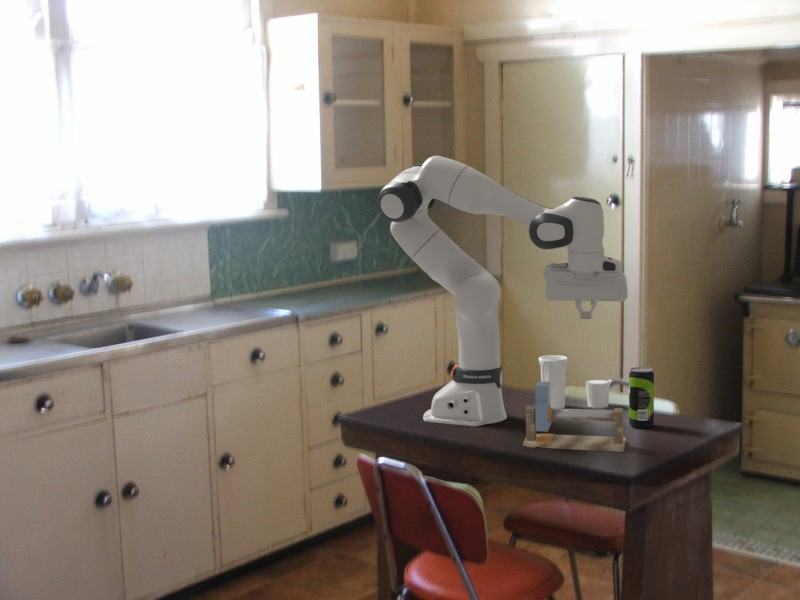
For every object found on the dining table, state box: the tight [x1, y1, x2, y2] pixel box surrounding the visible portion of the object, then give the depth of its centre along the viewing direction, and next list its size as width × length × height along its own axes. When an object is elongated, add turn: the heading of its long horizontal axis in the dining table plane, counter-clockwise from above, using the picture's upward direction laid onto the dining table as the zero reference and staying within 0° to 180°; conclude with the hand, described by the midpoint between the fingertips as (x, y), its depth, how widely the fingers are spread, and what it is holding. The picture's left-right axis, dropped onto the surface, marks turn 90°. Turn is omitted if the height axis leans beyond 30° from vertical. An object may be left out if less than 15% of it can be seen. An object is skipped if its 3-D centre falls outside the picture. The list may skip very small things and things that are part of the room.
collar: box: [534, 380, 552, 433], centre depth 260 cm, size 3×7×11 cm, turn 166°
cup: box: [538, 354, 569, 409], centre depth 297 cm, size 8×8×14 cm
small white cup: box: [585, 379, 611, 409], centre depth 299 cm, size 7×7×7 cm
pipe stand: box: [522, 405, 626, 453], centre depth 259 cm, size 24×9×9 cm, turn 76°
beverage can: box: [628, 366, 655, 430], centre depth 275 cm, size 6×6×15 cm
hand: (586, 318), depth 264 cm, fingers closed
